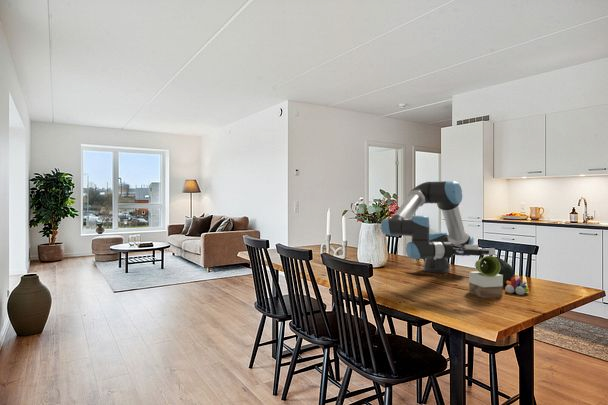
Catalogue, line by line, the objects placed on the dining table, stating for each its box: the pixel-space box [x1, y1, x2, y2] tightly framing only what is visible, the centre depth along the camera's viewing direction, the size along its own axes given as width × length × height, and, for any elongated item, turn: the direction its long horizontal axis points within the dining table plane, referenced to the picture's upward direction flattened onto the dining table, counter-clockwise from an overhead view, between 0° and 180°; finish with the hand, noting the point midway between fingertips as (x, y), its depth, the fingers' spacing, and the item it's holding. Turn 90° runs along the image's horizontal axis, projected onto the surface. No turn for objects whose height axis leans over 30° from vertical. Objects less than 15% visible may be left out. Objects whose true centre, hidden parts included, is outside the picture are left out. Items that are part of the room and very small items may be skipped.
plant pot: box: [474, 255, 501, 277], centre depth 174 cm, size 9×9×9 cm
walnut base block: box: [468, 282, 503, 299], centre depth 175 cm, size 10×10×5 cm
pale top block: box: [468, 270, 504, 287], centre depth 175 cm, size 10×10×5 cm
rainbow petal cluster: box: [504, 277, 529, 296], centre depth 178 cm, size 8×10×7 cm
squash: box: [485, 256, 515, 286], centre depth 197 cm, size 14×15×15 cm
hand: (486, 249), depth 174 cm, fingers open, 13 cm apart
